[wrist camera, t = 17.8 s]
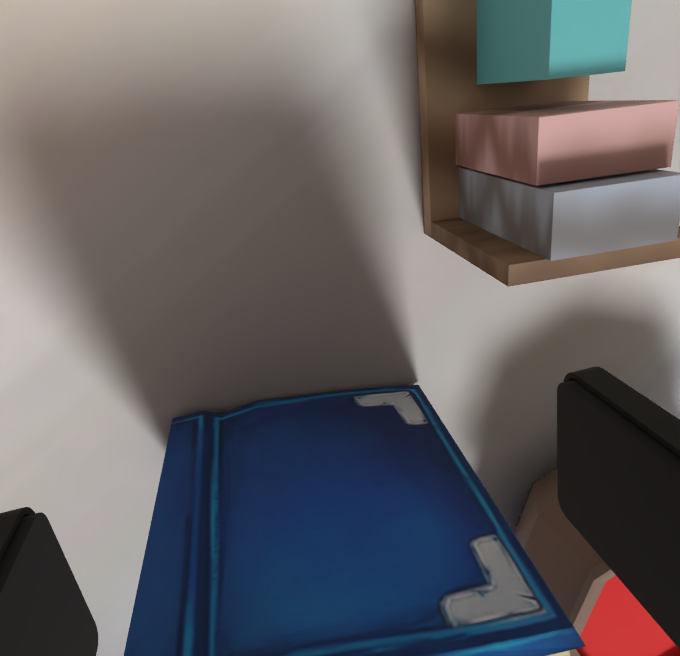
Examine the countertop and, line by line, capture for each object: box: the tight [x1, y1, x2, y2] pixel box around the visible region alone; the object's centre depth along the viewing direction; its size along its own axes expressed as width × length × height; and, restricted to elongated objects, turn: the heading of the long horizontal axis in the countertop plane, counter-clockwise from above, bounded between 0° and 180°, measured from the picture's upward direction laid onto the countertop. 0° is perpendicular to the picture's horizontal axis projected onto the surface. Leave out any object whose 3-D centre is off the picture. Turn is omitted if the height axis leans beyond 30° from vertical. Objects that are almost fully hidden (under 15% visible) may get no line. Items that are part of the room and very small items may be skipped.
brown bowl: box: [515, 468, 680, 656], centre depth 49 cm, size 24×24×16 cm
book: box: [124, 385, 586, 656], centre depth 35 cm, size 22×7×25 cm, turn 91°
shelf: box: [415, 0, 680, 286], centre depth 32 cm, size 24×12×14 cm, turn 6°
